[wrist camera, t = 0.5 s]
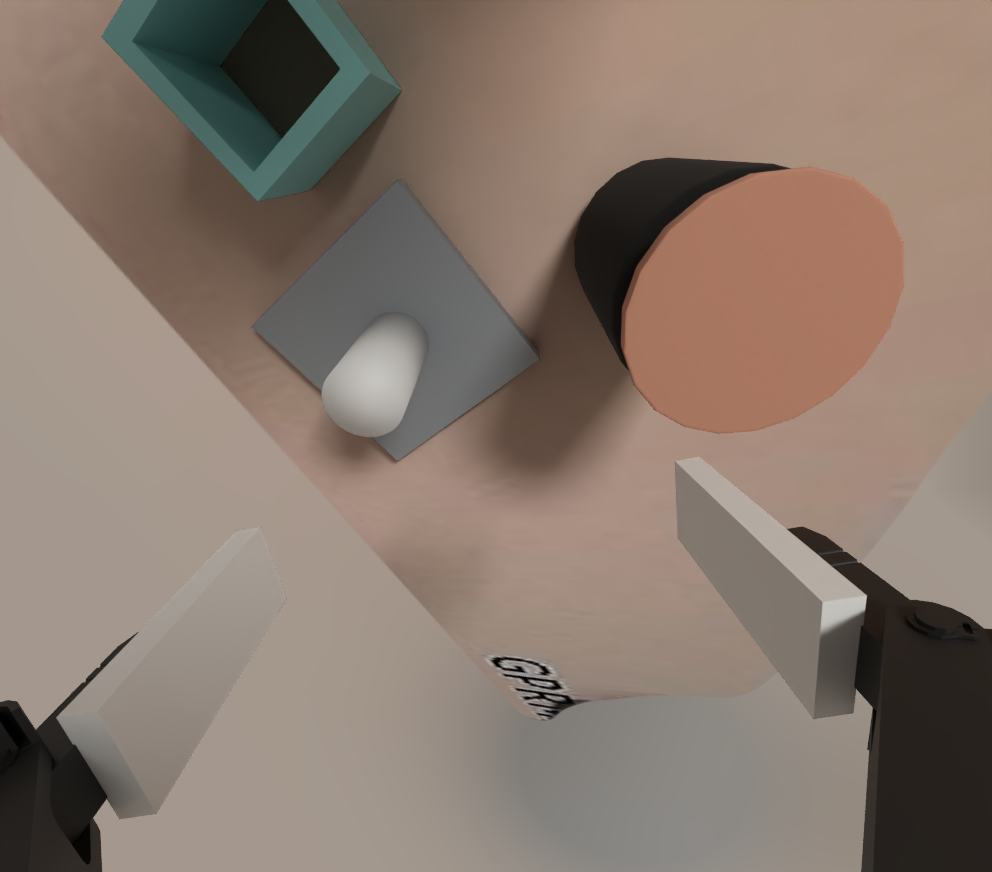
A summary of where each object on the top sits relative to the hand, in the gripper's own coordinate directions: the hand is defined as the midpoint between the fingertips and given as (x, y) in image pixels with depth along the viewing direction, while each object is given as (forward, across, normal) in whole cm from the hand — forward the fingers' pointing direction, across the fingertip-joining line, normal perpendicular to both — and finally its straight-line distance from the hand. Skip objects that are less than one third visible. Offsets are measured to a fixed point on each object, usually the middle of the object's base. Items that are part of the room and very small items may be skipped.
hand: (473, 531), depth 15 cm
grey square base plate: (+26, -6, +4) cm, 27 cm away
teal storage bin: (+22, -8, +21) cm, 32 cm away
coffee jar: (+24, +14, +8) cm, 28 cm away
